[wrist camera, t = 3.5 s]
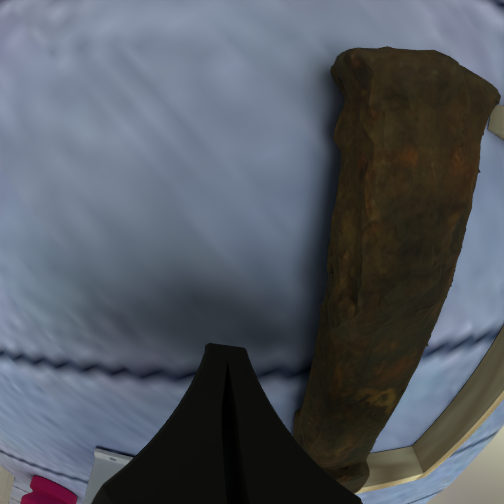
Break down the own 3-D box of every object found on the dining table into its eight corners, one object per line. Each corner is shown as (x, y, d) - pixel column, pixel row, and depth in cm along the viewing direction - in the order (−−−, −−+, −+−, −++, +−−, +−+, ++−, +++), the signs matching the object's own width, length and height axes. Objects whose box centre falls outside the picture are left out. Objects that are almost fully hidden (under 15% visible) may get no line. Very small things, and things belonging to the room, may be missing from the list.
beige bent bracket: (321, 465, 18) (328, 497, 15) (491, 104, 9) (542, 111, 6) (414, 451, 19) (425, 476, 17) (568, 174, 10) (602, 189, 7)
